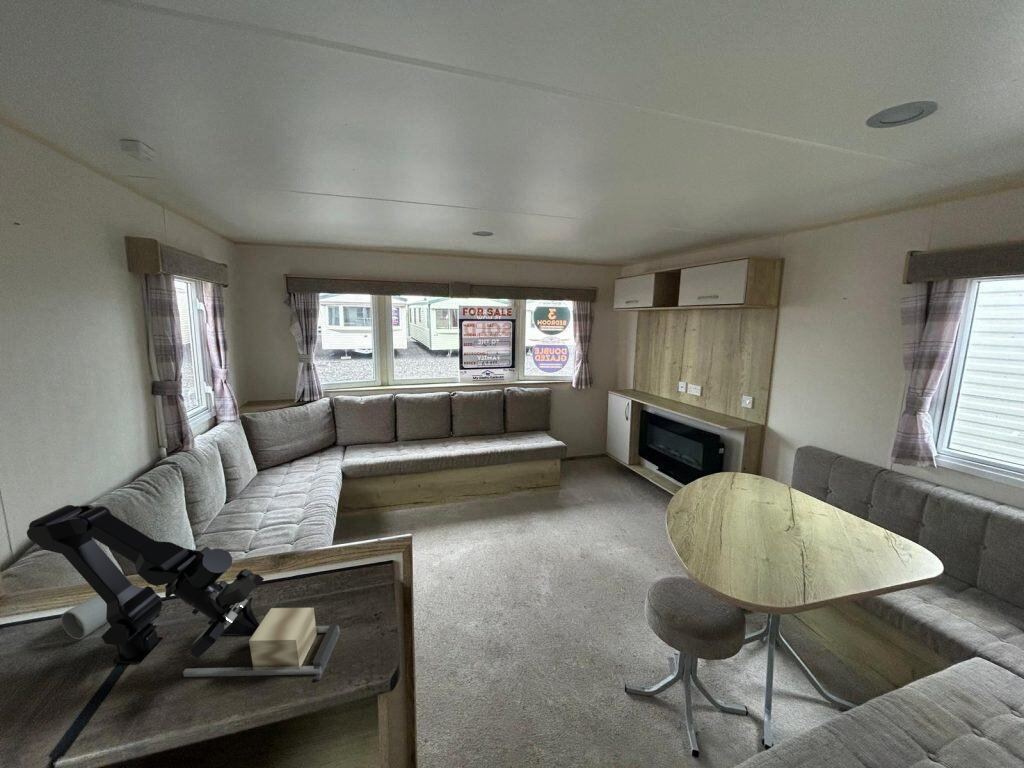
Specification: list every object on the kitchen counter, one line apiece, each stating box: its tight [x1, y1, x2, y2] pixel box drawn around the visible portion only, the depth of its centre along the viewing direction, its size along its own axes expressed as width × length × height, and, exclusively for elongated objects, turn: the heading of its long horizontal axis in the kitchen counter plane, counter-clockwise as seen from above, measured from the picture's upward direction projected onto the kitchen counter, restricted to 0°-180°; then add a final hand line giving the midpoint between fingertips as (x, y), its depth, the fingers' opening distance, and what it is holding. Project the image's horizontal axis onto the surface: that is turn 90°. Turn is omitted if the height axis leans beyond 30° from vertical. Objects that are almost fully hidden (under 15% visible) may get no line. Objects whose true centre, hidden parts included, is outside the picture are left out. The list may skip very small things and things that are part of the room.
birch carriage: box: [248, 607, 318, 667], centre depth 93 cm, size 10×9×8 cm
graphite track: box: [182, 623, 341, 681], centre depth 93 cm, size 29×12×4 cm, turn 93°
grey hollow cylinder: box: [60, 594, 108, 640], centre depth 100 cm, size 11×8×8 cm
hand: (260, 633), depth 92 cm, fingers closed, pressing on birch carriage
